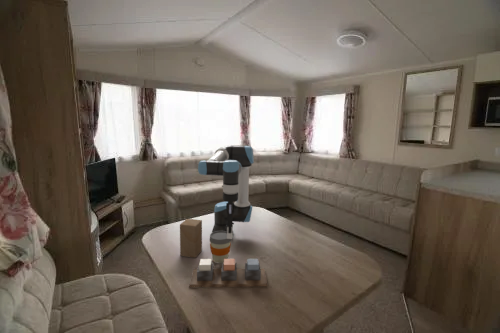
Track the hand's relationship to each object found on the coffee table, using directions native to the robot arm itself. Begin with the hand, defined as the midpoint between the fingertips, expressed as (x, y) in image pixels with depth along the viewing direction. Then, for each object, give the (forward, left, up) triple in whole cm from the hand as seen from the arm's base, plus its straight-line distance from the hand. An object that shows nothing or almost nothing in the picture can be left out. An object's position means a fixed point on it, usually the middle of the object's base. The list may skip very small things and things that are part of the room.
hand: (229, 237), depth 125 cm
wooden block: (-11, -34, -23) cm, 42 cm away
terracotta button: (0, 0, -18) cm, 18 cm away
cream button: (+6, -10, -18) cm, 22 cm away
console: (0, 0, -22) cm, 22 cm away
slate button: (-6, +10, -18) cm, 22 cm away
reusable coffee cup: (-14, -15, -23) cm, 30 cm away
